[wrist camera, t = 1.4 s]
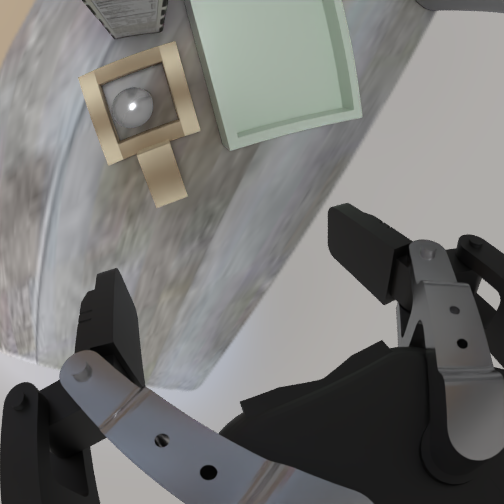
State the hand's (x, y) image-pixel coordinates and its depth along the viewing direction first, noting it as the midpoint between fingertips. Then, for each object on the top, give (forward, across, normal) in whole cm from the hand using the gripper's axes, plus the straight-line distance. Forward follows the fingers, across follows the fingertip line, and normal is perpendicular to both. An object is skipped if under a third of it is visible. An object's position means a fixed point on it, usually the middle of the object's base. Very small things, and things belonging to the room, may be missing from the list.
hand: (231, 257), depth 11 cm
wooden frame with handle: (+21, +2, -3) cm, 21 cm away
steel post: (+21, +2, -6) cm, 22 cm away
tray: (+20, -12, -10) cm, 26 cm away
